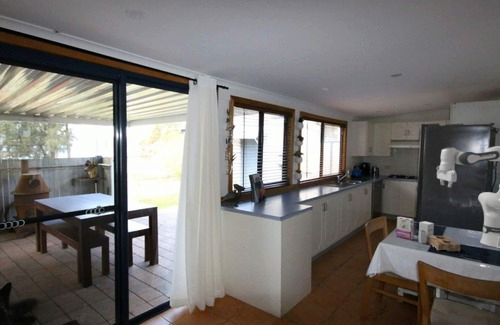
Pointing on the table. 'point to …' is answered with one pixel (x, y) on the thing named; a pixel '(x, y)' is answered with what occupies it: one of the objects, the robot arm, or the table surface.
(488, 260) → the table surface
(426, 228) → the supplement box
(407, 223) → the candy bar box
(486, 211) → the robot arm
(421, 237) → the plug
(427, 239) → the socket block
